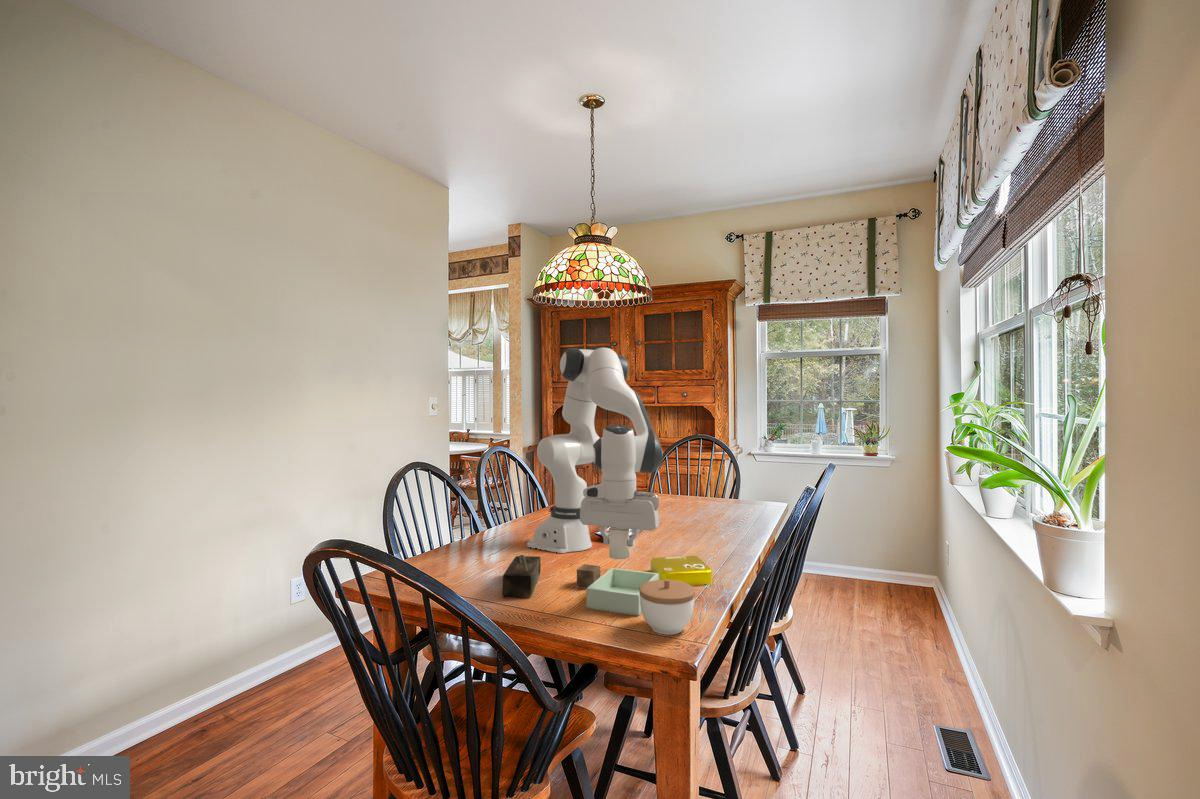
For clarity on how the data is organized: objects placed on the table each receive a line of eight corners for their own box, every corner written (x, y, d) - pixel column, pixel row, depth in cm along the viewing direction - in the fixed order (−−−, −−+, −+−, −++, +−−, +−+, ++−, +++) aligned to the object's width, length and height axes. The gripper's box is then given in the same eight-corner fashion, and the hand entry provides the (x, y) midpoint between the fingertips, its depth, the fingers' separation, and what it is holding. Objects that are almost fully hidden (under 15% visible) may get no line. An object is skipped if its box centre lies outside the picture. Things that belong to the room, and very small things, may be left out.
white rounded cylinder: (613, 552, 150) (613, 525, 150) (631, 554, 148) (631, 527, 148) (606, 558, 145) (606, 530, 145) (625, 560, 143) (625, 531, 143)
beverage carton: (541, 575, 171) (541, 553, 171) (531, 599, 152) (531, 574, 152) (514, 575, 171) (514, 553, 171) (501, 599, 152) (501, 574, 152)
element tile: (697, 569, 177) (697, 553, 177) (714, 586, 162) (714, 568, 162) (649, 571, 175) (649, 555, 175) (661, 588, 160) (661, 571, 160)
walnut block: (576, 587, 161) (576, 569, 160) (584, 581, 165) (583, 564, 165) (593, 589, 159) (593, 571, 159) (600, 583, 163) (600, 566, 163)
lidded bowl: (705, 627, 133) (705, 579, 133) (674, 645, 124) (674, 594, 124) (660, 613, 142) (660, 568, 142) (628, 629, 132) (628, 581, 132)
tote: (586, 608, 145) (586, 588, 145) (611, 585, 161) (611, 567, 161) (638, 616, 140) (638, 595, 140) (659, 592, 156) (659, 573, 156)
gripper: (662, 490, 145) (662, 545, 146) (586, 485, 153) (587, 538, 153) (655, 494, 139) (655, 552, 140) (577, 489, 147) (577, 544, 147)
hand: (619, 544), depth 147 cm, fingers closed on white rounded cylinder, 5 cm apart
